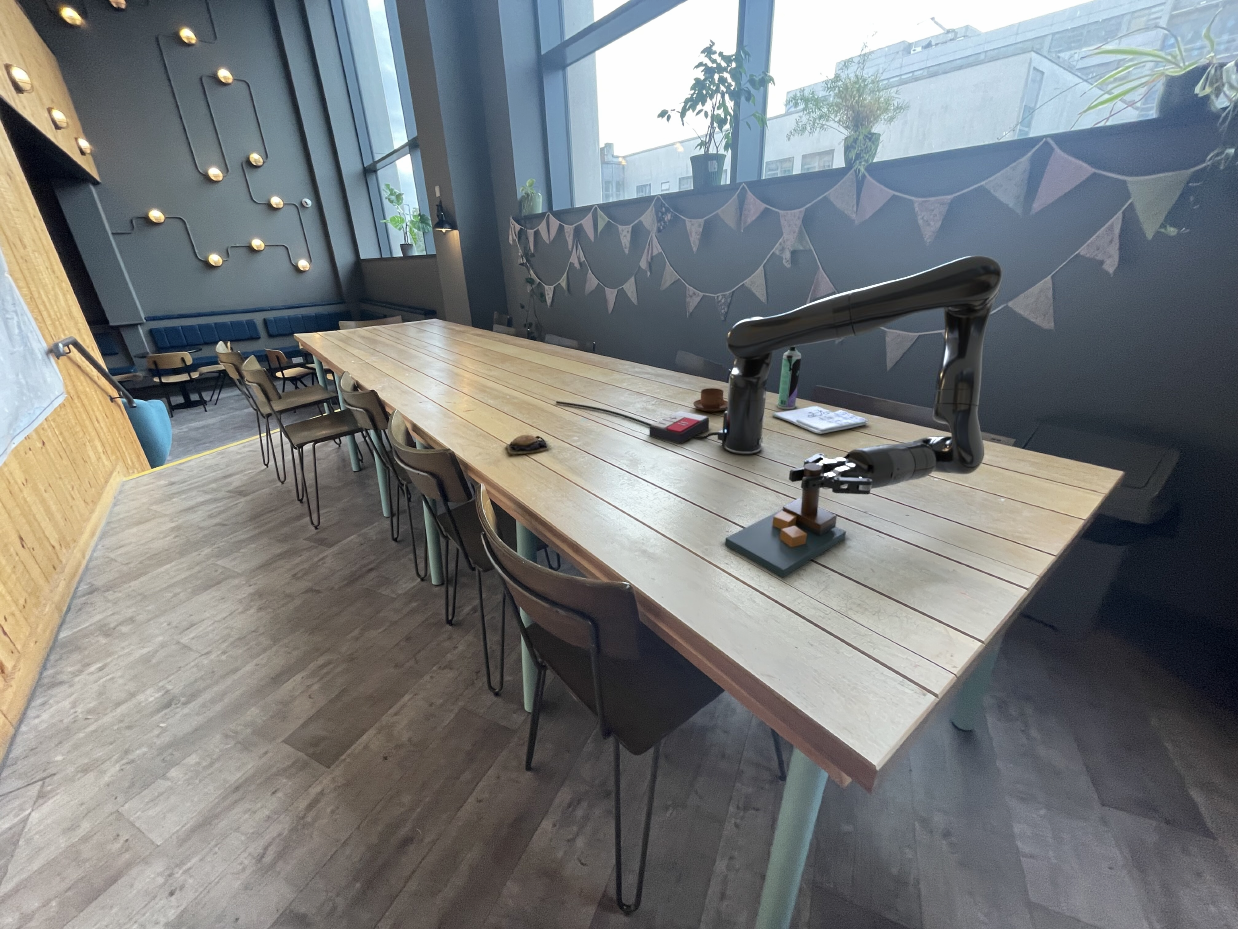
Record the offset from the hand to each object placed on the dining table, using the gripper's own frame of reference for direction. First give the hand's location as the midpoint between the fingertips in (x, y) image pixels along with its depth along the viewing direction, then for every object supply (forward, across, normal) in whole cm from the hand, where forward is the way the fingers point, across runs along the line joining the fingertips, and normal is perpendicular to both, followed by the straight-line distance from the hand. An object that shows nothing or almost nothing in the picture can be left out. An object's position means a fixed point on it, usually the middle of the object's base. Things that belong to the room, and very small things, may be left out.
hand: (797, 479), depth 81 cm
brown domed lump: (+41, -61, +12) cm, 74 cm away
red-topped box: (-3, -58, +11) cm, 59 cm away
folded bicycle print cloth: (-47, -52, +11) cm, 71 cm away
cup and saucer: (-22, -75, +11) cm, 79 cm away
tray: (+2, +2, +11) cm, 11 cm away
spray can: (-46, -68, +11) cm, 83 cm away
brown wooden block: (+1, -1, +10) cm, 10 cm away
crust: (+2, +4, +10) cm, 11 cm away
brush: (-4, 0, +9) cm, 10 cm away
